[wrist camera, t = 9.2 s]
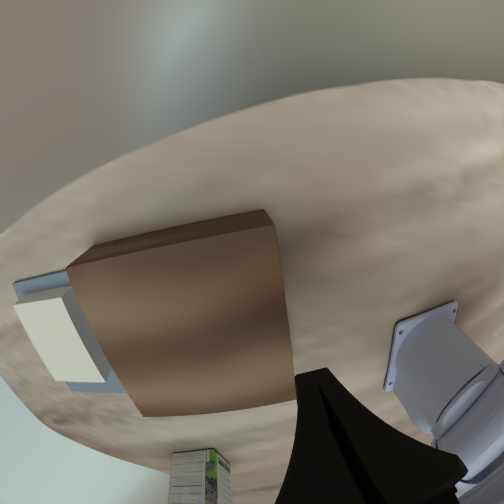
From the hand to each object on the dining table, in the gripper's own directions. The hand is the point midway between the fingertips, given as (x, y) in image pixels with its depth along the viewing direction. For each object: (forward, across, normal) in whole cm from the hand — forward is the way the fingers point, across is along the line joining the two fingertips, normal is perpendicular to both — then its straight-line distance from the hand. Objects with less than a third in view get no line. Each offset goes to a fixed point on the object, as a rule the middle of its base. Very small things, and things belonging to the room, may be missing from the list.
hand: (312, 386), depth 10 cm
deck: (+9, +6, +1) cm, 11 cm away
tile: (+7, +18, +1) cm, 19 cm away
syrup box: (+10, +12, +23) cm, 28 cm away
